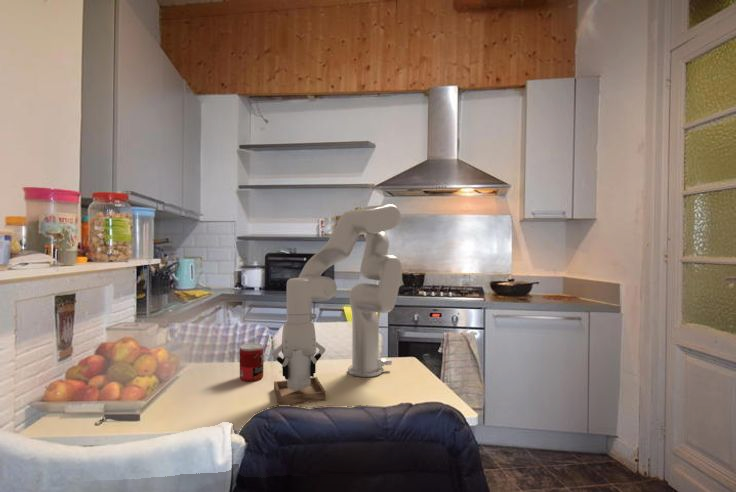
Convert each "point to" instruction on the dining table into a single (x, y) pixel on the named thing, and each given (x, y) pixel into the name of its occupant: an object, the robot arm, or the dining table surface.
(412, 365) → the dining table surface
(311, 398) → the tray
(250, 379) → the canned food
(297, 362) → the skincare box
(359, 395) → the dining table surface
